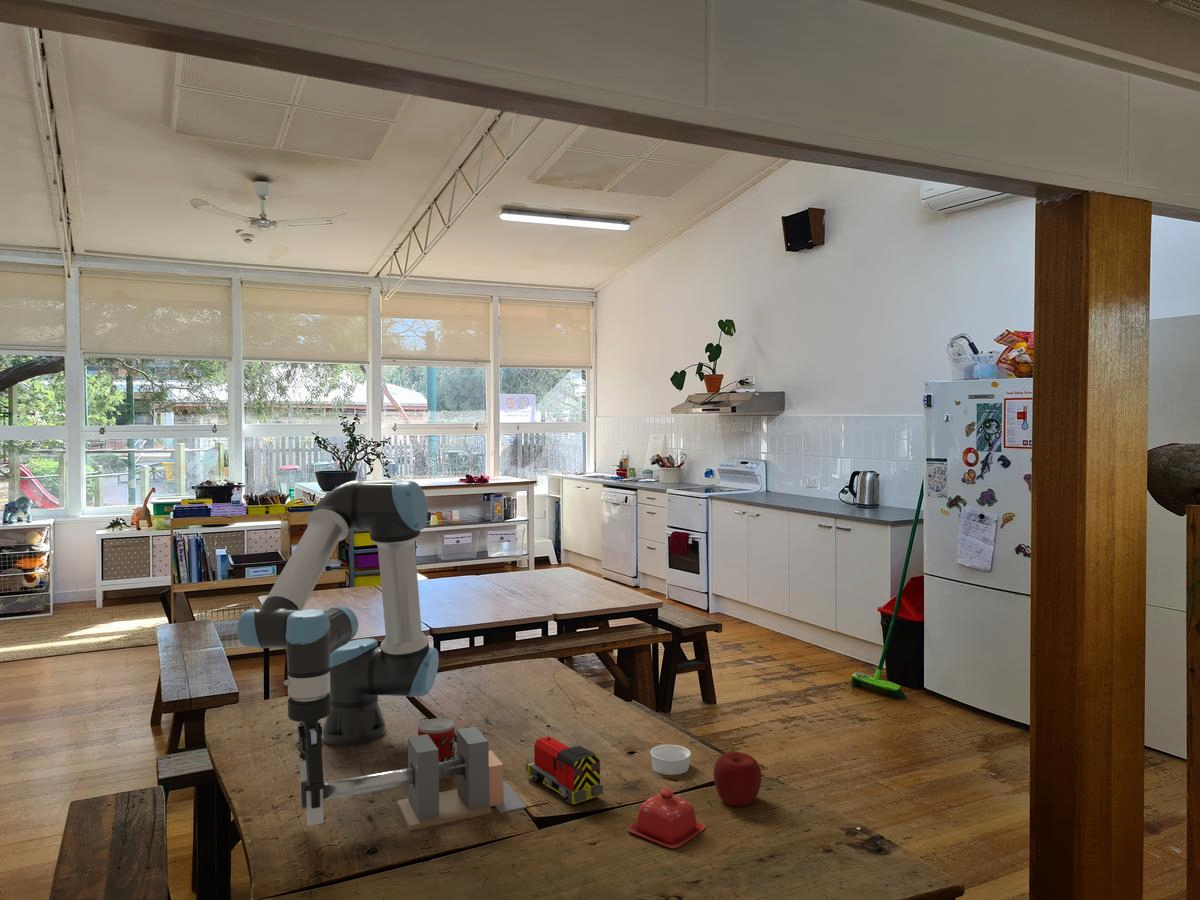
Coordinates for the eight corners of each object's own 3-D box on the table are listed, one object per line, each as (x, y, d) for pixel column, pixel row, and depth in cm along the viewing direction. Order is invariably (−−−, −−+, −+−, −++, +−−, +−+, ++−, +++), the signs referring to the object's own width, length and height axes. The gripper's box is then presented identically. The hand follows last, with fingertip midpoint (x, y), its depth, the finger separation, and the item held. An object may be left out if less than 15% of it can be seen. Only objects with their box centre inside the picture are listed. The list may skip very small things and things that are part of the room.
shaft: (302, 813, 153) (302, 787, 152) (300, 802, 157) (299, 777, 157) (469, 782, 166) (468, 758, 166) (462, 773, 170) (462, 749, 170)
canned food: (447, 782, 179) (446, 731, 179) (412, 779, 181) (411, 729, 180) (460, 768, 187) (459, 719, 186) (426, 765, 188) (426, 717, 188)
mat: (479, 787, 176) (479, 784, 176) (524, 778, 181) (524, 775, 181) (500, 814, 164) (500, 811, 164) (547, 804, 168) (547, 802, 168)
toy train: (576, 812, 165) (575, 762, 164) (525, 779, 180) (524, 734, 180) (603, 803, 169) (603, 754, 169) (551, 772, 184) (551, 727, 184)
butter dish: (709, 832, 157) (709, 787, 156) (674, 856, 148) (674, 809, 148) (659, 814, 164) (659, 771, 164) (623, 836, 155) (623, 791, 155)
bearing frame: (409, 831, 157) (408, 757, 157) (397, 805, 168) (396, 736, 168) (491, 814, 164) (490, 743, 164) (474, 790, 175) (473, 724, 174)
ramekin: (698, 770, 184) (698, 751, 184) (674, 783, 178) (674, 763, 178) (667, 760, 190) (667, 741, 190) (642, 772, 184) (642, 752, 184)
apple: (732, 819, 161) (732, 768, 161) (703, 799, 170) (703, 751, 169) (771, 808, 166) (771, 758, 165) (741, 790, 174) (741, 742, 174)
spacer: (477, 791, 173) (477, 752, 173) (491, 788, 174) (491, 750, 174) (489, 806, 166) (488, 767, 166) (503, 803, 167) (503, 764, 167)
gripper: (282, 679, 165) (285, 785, 166) (293, 719, 142) (295, 842, 143) (322, 674, 168) (324, 778, 169) (339, 713, 145) (341, 833, 146)
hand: (311, 807), depth 156 cm, fingers open, 13 cm apart
